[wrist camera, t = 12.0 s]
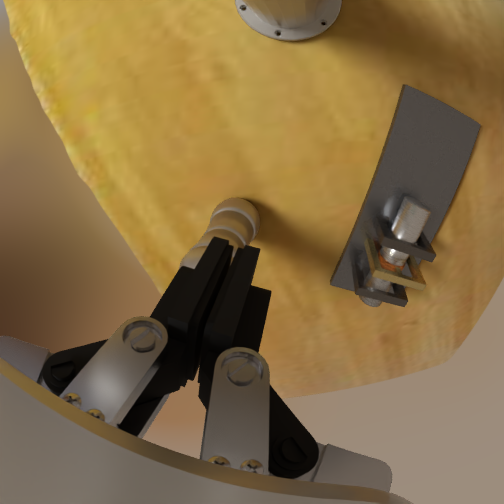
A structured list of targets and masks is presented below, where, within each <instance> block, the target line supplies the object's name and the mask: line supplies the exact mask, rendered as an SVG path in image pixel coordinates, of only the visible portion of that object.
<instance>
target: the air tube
mask: <svg viewBox="0 0 504 504" xmlns="http://www.w3.org/2000/svg"><path fill="white" fill-rule="evenodd" d="M430 213H431V209H430V208H429V207H428V206H427V205H425V204H424V203H422V202H421V201H419V200H417V199H415V198H412V197H409V196H405V197H404V199H403V202H402V204H401V206H400V209H399V211H398V213H397V216H396V218H395V220H394V222H393V224H392V227H391V229H390V231H389V232H390V234H391V237H394V238H397V239H400V240H403V241H406V242H409V243H412V244H416V242H417V240H418V238H419V236H420V234H421V232H422V230H423V228H424V226H425V224H426V222H427V220H428V217H429V215H430ZM377 254H378V258H379V261H380V265H381V268H383V269H386V270H389V271H393V270H394V268H395V266H396V267H399V268H400V269H401V272H402V270H403V268H404V266H405V264H406V263H405V262H406V261H407V259H408V257H409V254H406V253H403V252H399V251H396V250H393V249H390V248H387V247H384V246H382V248H381V249H380V250H379V251H378V253H377ZM393 272H394V271H393ZM365 283H366V286H368V287H371V288H375V289H379V290H382V291H386V292H389V290H390V289H391V287H392V285H393V282H390V281H386V280H383V279H379V278H376V277H372V274H371V270H370V271H369V273H368V275H367V277H366V279H365ZM359 297H360V299H361V300H362V301H363V302H364V303H365V304H367V305H369V306H372V307H378V306H380V305H381V303H382V302H383V301H379V300H375V299H371V298H367V297H363V296H360V295H359Z"/></svg>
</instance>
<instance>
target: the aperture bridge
mask: <svg viewBox="0 0 504 504" xmlns="http://www.w3.org/2000/svg"><path fill="white" fill-rule="evenodd" d="M364 245H365V249H366V253H367V257H368V261H369V265H370V270H371V274H372V277H376V278H379V279H383V280H386V281H390V282H393V283H397V284H400V285H404V286H407V287H411V288H414V289H417V290H421V291H423V290H424V288H425V287H426V283H425V280H424V278H423V275H422V273H421V271H420V269H419V266H418V264H417V262H416V260H415V257H414V256H412V255H409V257H408V259H407V261H406V262H407V265H408V267H409V270H410V272H411V275H412V277H409V276H406V275H403V274H402V272H401V269H400V268H399V267H396V266H395V268H394V270H393V271H394V272H393V271H389V270H386V269H383V268H381V265H380V261H379V258H378V254H377V251H376V248H375V244H374V241H373V240H372V239H369V238H367V239H366V241H365V243H364Z"/></svg>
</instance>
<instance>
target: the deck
mask: <svg viewBox="0 0 504 504" xmlns="http://www.w3.org/2000/svg"><path fill="white" fill-rule="evenodd" d="M480 125H481V124H479V123H477V122H476V121H474V120H473V119H471V118H469V117H468V116H466V115H464V114H463V113H461V112H459V111H457V110H456V109H454V108H452V107H450V106H448V105H446V104H445V103H443V102H441V101H439V100H437V99H435V98H433V97H431V96H429V95H427V94H425V93H423V92H421V91H419V90H417V89H414V88H412V87H410V86H408V85H404V84H403V86H402V90H401V93H400V97H399V100H398V104H397V107H396V110H395V113H394V117H393V120H392V123H391V126H390V129H389V132H388V135H387V138H386V141H385V144H384V147H383V150H382V153H381V156H380V159H379V162H378V165H377V167H376V170H375V173H374V176H373V178H372V181H371V184H370V186H369V189H368V192H367V194H366V197H365V200H364V202H363V205H362V207H361V210H360V212H359V215H358V217H357V220H356V222H355V225H354V227H353V229H352V232H351V234H350V237H349V239H348V241H347V244H346V246H345V248H344V251H343V253H342V255H341V257H340V260H339V262H338V264H337V266H336V269H335V271H334V273H333V275H332V277H331V280H330V285H332V286H336V287H340V288H343V289H347V290H351V291H354V292H355V289H354V282H353V275H352V267H353V265H354V263H358V264H361V265H362V267H363V272H364V278H365V279H366V277H367V275H368V273H369V271H370V265H369V261H368V257H367V253H366V249H365V245H364V243H365V241H366V239H367V238H369V239H372V240H373V241H374V244H375V248H376V251H377V253H378V251H379V250H380V249H381V248H382V246H381V245H380V243H379V240H378V237H377V234H376V231H375V228H374V226H373V221H374V219H375V216H379V217H381V218H384V220H385V223H386V225H387V227H388V229H389V231H390V229H391V227H392V224H393V222H394V220H395V218H396V216H397V213H398V211H399V209H400V206H401V204H402V202H403V199H404V197H405V196H409V197H412V198H415V199H417V200H419V201H421V202H422V203H424V204H425V205H427V206H428V207H429V208H430V209H431V213H430V215H429V217H428V220H427V222H426V224H425V226H424V228H423V230H422V232H423V233H424V234H425V236H426V238H427V239H428V241H429V243H431V242H432V240H433V238H434V236H435V234H436V232H437V230H438V228H439V226H440V224H441V222H442V220H443V218H444V216H445V214H446V212H447V209H448V207H449V205H450V203H451V201H452V199H453V196H454V194H455V192H456V189H457V187H458V185H459V182H460V180H461V178H462V175H463V173H464V170H465V168H466V165H467V163H468V160H469V157H470V155H471V152H472V149H473V146H474V143H475V141H476V138H477V135H478V132H479V128H480ZM415 245H417V243H416V244H415ZM414 257H415V256H414ZM415 260H416V262H417V264H418V265H419V263H420V262H421V260H422V259H420V258H417V257H415ZM405 263H406V264H405V266H404V268H403V270H402V274H403V275H406V276H409V277H412V275H411V272H410V270H409V267H408V265H407V262H405ZM403 286H404V285H403ZM405 287H406V286H404V289H405ZM389 292H390V293H393V294H394V291H393V287H391V289H390V290H389Z"/></svg>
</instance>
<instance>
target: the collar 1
mask: <svg viewBox="0 0 504 504" xmlns="http://www.w3.org/2000/svg"><path fill="white" fill-rule="evenodd" d="M373 226H374V228H375V231H376V234H377V237H378V240H379V243H380V245H381V246H384V247H387V248H390V249H393V250H396V251H399V252H403V253H406V254H409V255H412V256H415V257H417V258H420V259H423V260H426V261H429V262H433V260H434V258H435V257H436V253H435V252H434V250H433V248H432V246H431V245H430V243H429V241H428V239H427V238H426V236H425V234H424V233H423V232H421V234H420V236H419V238H418V240H417V242H416V243H417V245H415V244H412V243H409V242H406V241H403V240H400V239H397V238H394V237H391V234H390V232H389V229H388V227H387V225H386V223H385V220H384V218H381V217H379V216H375V219H374V221H373Z"/></svg>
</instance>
